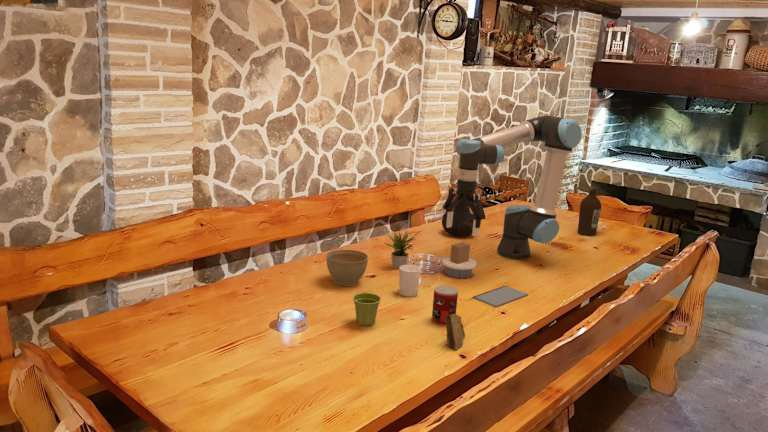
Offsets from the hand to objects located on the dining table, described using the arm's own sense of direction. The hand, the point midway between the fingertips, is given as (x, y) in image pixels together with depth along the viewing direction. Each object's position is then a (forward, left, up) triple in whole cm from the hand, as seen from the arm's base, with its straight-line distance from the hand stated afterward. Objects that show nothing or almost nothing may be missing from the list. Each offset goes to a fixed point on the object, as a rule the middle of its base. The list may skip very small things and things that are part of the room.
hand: (461, 231), depth 250 cm
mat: (+4, +20, -19) cm, 28 cm away
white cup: (+31, +2, -19) cm, 36 cm away
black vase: (-46, -39, -19) cm, 63 cm away
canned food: (+38, +26, -19) cm, 50 cm away
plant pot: (+61, +12, -19) cm, 65 cm away
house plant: (+15, -19, -19) cm, 31 cm away
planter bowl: (+43, -20, -19) cm, 51 cm away
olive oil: (-108, -3, -19) cm, 110 cm away
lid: (0, 0, -14) cm, 14 cm away
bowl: (0, 0, -19) cm, 19 cm away
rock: (+47, +40, -19) cm, 64 cm away
